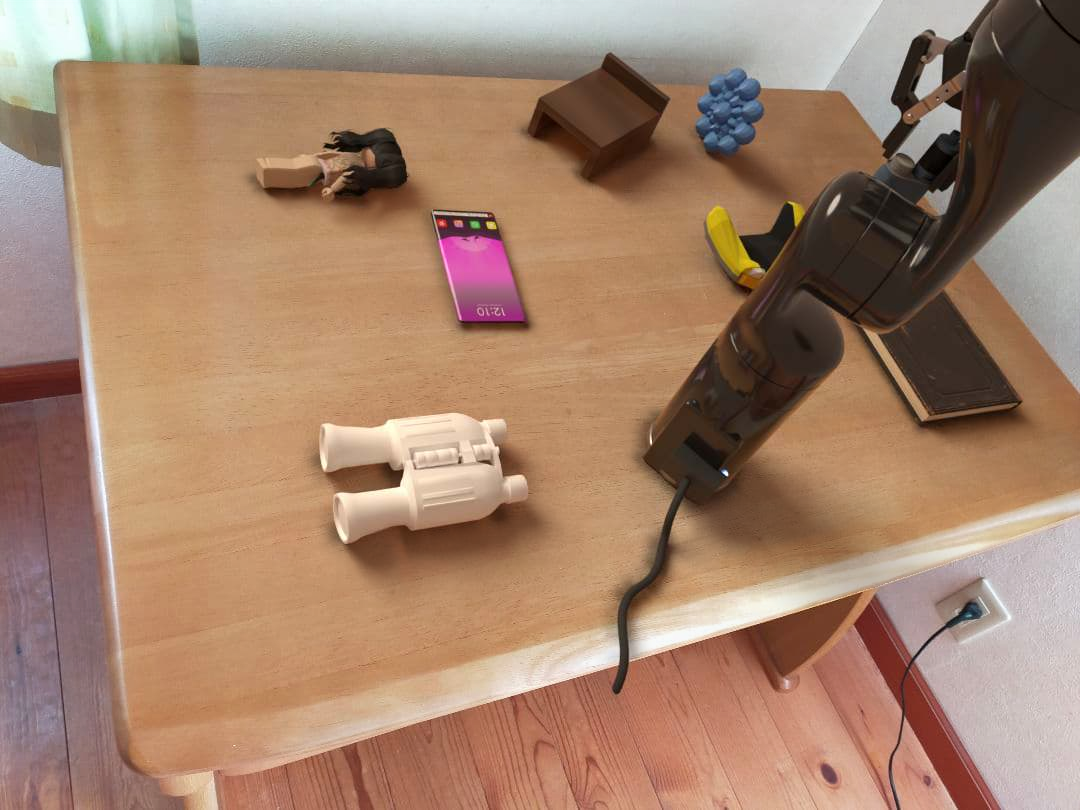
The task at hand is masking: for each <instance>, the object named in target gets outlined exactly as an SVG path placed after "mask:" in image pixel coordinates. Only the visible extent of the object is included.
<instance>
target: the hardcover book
mask: <svg viewBox="0 0 1080 810" xmlns="http://www.w3.org/2000/svg"><path fill="white" fill-rule="evenodd" d="M854 325H855V327H856V328H857V330H858V331H859V333H860V335H861V336H862V338H863V339H864V341H865V342H866V344H867V345H868V347H869V349H870V351H871V352H872V353H873V355H874V357H875V359H876V360H877V361H878V363H879V365H880V366H881V368H882V369H883V371H884V372H885V374H886V376H887V377H888V379H889V381H890V382H891V384H892V385H893V387H894V388H895V390H896V391H897V393H898V394H899V396H900V398H901V399H902V401H903V403H904V404H905V406H906V407H907V409H908V410H909V412H910V414H911V416H912V417H913V418H914V420H915V422H916V424H917V425H918V426H920V425H921V426H922V425H930V424H936V423H942V422H948V421H954V420H960V419H967V418H974V417H980V416H987V415H993V414H999V413H1005V412H1010V411H1013V410H1014V409H1016V408H1017V407H1019V406H1020V405H1021V404H1022V403H1023V402H1024V401H1023V399H1022V397H1021V396H1020V394H1018V391H1017V390H1016V388H1014V386H1013V384H1012V383H1011V382H1010V381H1009V379H1008V378H1007V376H1006V375H1005V373H1004V372H1003V370H1002V369H1001V368H1000V366H999V365H998V364H997V362H996V361H995V359H994V358H993V357H992V355H991V353H990V352H989V351H988V349H987V348H986V347H985V345H984V344H983V343H982V341H981V340H980V338H979V337H978V336H977V334H976V332H975V331H974V329H972V326H971V325H969V323H968V321H967V320H966V318H965V317H964V315H963V314H962V313H961V312H960V310H959V308H958V307H957V306H956V304H955V303H954V302H953V300H952V299H951V297H950V296H949V295H948V293H947V292H946V290H945V288H944V289H943V290H942V291H941V292H940V293H939V294H938V295H937V296H936V297H935V298H934V299H933V300H932V301H931V302H930V303H929V304H928V305H927V306H926V307H925V308H924V309H923V310H922V311H921V312H920V313H919V314H918V315H916V316H915V317H914V318H913V319H912V320H910V321H909V322H908V323H906V324H905V325H903V326H902V327H900V328H898V329H897V330H894V331H892V332H889V333H885V334H878V333H874V332H871V331H868V330H866V329H864V328H862V327H860V326H858V325H856V324H855V323H854Z"/></svg>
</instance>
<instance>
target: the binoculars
mask: <svg viewBox="0 0 1080 810" xmlns="http://www.w3.org/2000/svg"><path fill="white" fill-rule="evenodd" d="M508 435H509V433H508V426H507V424H506V421H505V420H504V419H503V418H494V419H483V420H482V421H478V420H477V419H475V418H473V417H471V416H470V415H468V414H463V413H458V412H449V413H440V414H431V415H430V414H429V415H422V416H412V417H402V418H394V419H392V418H391V419H388V420H387V421H386V422H385V423H384V424H383V425H379V426H375V427H362V426H361V427H360V426H346V425H345V426H342V425H337V424H334V423H329V422H325V423H322V424H321V426H320V429H319V438H318V439H319V440H318V444H319V446H318V447H319V458H320V464H321V469H322V471H323V472H324V473H333V472H336V471H338V470H341V469H345V468H346V469H347V468H352V467H353V468H354V467H359V466H367V465H376V464H385V463H388V464H389V466H390V468H391V470H392V471H394V472H395V471H402V470H403V474H402V478H401V480H400V484H399V486H397V487H392V488H391V487H390V488H385V489H378V490H377V489H376V490H371V491H364V492H362V491H361V492H356V493H352V492H338V493H335V494H334V495H333V498H332V515H333V520H334V524H335V527H336V531H337V534H338V536H339V538H340V541H341V542H342V543H343V544H345V545H346V544H347V545H348V544H352V543H354V542H356V541H358V540H359V539H361V538H362V537H365V536H368V535H372V534H374V533H377V532H381V531H383V530H386V529H388V528H390V527H398V526H406V527H407V528H408V529H409V531H412V532H413V531H418V530H424V529H430V528H437V527H443V526H449V525H454V524H461V523H466V522H473V521H478V520H479V521H480V520H482V519H484V518H485V517H488V516H490V515H491V514H493V512H494V511H496V509H498V508H499V506H500V505H501V504H504V503H505V504H506V505H508V504H513V503H518V502H524V501H526V500H527V499H528V496H529V485H528V482H527V479H526V477H525V476H524V475H523V474H515V475H508V476H507V475H506V476H505V475H504V476H503V470H502V465H501V461H500V457H499V455H500V448H499V446H498V445H504V444H506V442H507V441H508V438H509V437H508ZM482 461H489V462H490V464H488V463H484V462H482Z"/></svg>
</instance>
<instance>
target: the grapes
mask: <svg viewBox="0 0 1080 810" xmlns="http://www.w3.org/2000/svg"><path fill="white" fill-rule="evenodd" d="M761 89H762V86H761V83H760V81H759V80H758V79H757V78H753V77H748V75H747V72H746V71H745V70H744V69H743V68H739V67H736V68H732V69H731V70H729V72H727V73H726V74H722V73H720V74H716V75H715V76H713V77H712V78H711V80H710V81H709V83H708V91H709V92H707V93H704V94H702V95H701V96H700V97H699V99H698V100H697V104H696V106H697V109H698V111H699V112H700V114H702V116H700V117H699V118H698V119H697V121H696V122H695V125H694V127H695V128H694V129H695V132H696V133H697V134H698V135H699V136H701V137H703V141H702V144H703V148H704V149H705V150H706V152H708V153H711V154H715V153H718V152H719V153H720V154H721V155H722V157H723V156H724V157H727V158H729V157H733V156H735V155H736V154H737V153H738V151H740V147H741V146H746V145H749V144H751V143H752V142H754V140H755V138H756V135H757V134H756V133H757V130H756V127H755V126H754V125H753V124H755V123H759V121H760V120H761V119H762V118H763V116H764V115H765V114H764V113H765V106H764V104H763V103H762V102H761V101H760V100H757V99H758V97H759V96H760V94H761V91H762V90H761Z"/></svg>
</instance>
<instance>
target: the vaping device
mask: <svg viewBox="0 0 1080 810" xmlns="http://www.w3.org/2000/svg"><path fill="white" fill-rule="evenodd" d="M959 152H960V131H959V130H958V129H953V130H952V131H951V132H950V133H944V132H942V133H939V135H938V136H937V137H936V139H935V140H934V141H933V142H932V143H931V145H930V146H929V147H928V148H927V149H926V151H925V152H924V153H923V154H922V155H921V157H920V158H919V159H918V160H917V162H915V161H914V160H913V158H912V157H910V156H909V155H908V154H906V153H904V152H896V153H895V154H894V155H893V157H892V158H890V159H889V160H888V159H887V161H886V162H885V163H883V164H881V165H880V166H879V167H878V168H877V170H876V171H875V172H874V174H873V175H871V176H872V177H874V178H875V179H877V180H879V181H880V182H882V183H883V184H885V185H887V186H888V187H889V188H891V189H893V190H894V191H896V192H898V193H899V194H901V195H902V196H904V197H905V198H907V199H909V200H910V201H912V202H913V203H915V204H916V205H917V204H918V203H919V202H920V200H921V199H922V198H923V197H924V196H925V195H926V194H927V192H928V190H927V188H928V187H929V186H930V184H931V183H932V182H933V181H934V180H935V179H936V177H937V176H938V175H939V174H940V173H941V172H942V170H943V169H944V168H945V167H946V166H947V165H948V163H949V162H950V161H951V160H952V159H953V158H954V157H955V156H956V155H957V154H958V153H959Z"/></svg>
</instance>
